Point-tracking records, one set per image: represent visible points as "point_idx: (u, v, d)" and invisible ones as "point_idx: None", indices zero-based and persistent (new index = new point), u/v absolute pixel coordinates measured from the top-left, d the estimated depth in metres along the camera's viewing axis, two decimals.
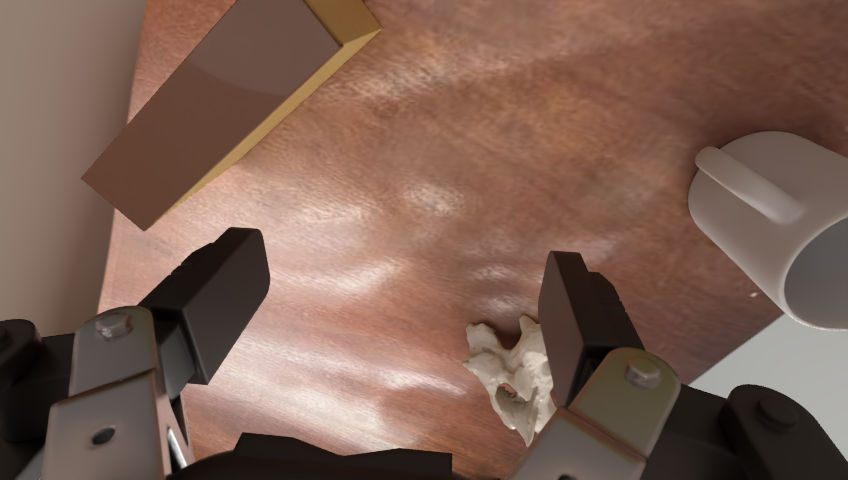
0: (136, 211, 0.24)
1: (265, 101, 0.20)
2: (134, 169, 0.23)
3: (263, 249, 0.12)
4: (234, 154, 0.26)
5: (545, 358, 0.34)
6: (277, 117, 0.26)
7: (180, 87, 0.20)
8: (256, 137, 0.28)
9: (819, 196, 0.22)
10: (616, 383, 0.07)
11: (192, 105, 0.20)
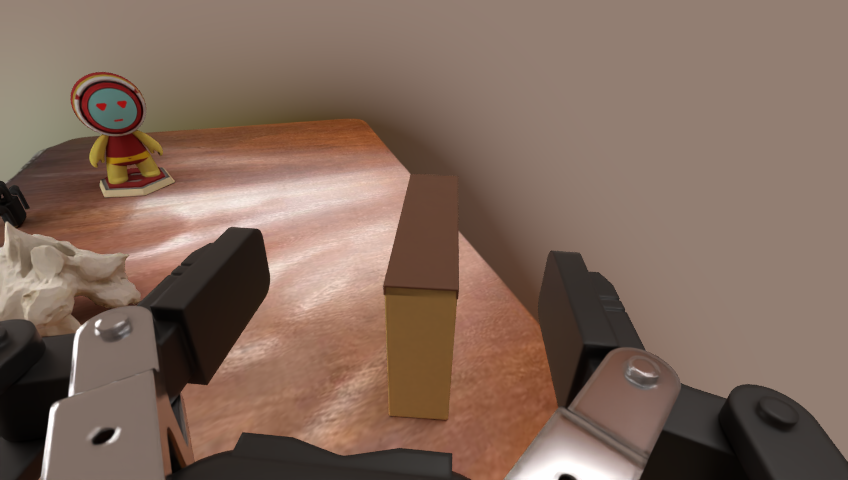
0: (421, 178, 0.36)
1: (401, 242, 0.27)
2: (438, 189, 0.34)
3: (263, 249, 0.12)
4: None
5: None
6: None
7: (449, 223, 0.29)
8: None
9: None
10: (616, 383, 0.07)
11: (436, 221, 0.29)
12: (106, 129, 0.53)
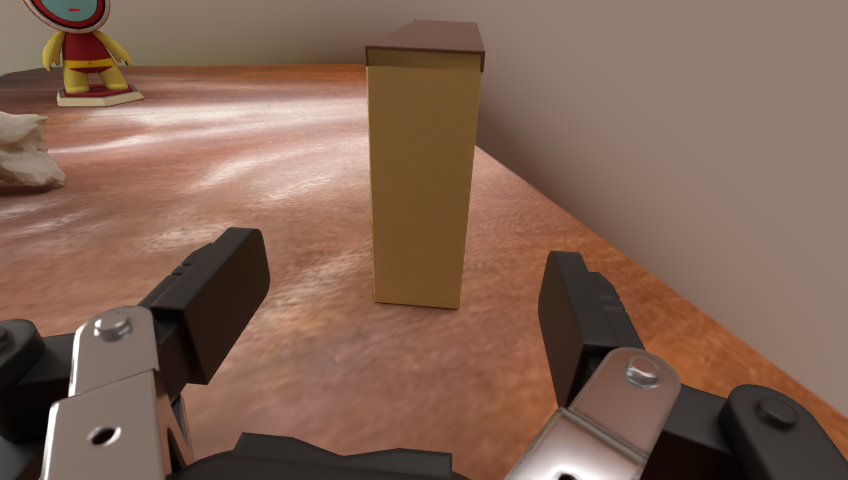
0: (429, 22, 0.27)
1: (398, 35, 0.18)
2: (451, 25, 0.25)
3: (263, 249, 0.12)
4: None
5: None
6: None
7: (467, 32, 0.20)
8: None
9: None
10: (616, 383, 0.07)
11: (449, 31, 0.21)
12: (59, 20, 0.45)
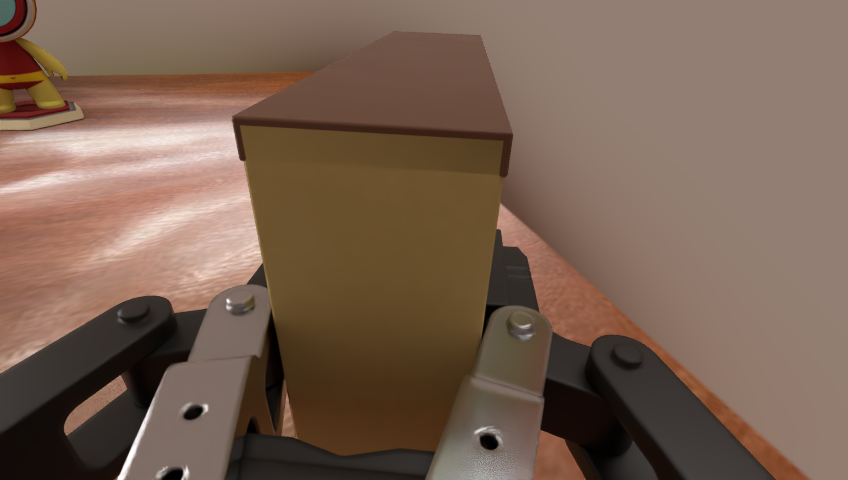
0: (413, 34, 0.19)
1: (343, 71, 0.10)
2: (443, 41, 0.17)
3: None
4: None
5: None
6: None
7: (467, 59, 0.12)
8: None
9: None
10: (503, 340, 0.08)
11: (438, 56, 0.13)
12: None
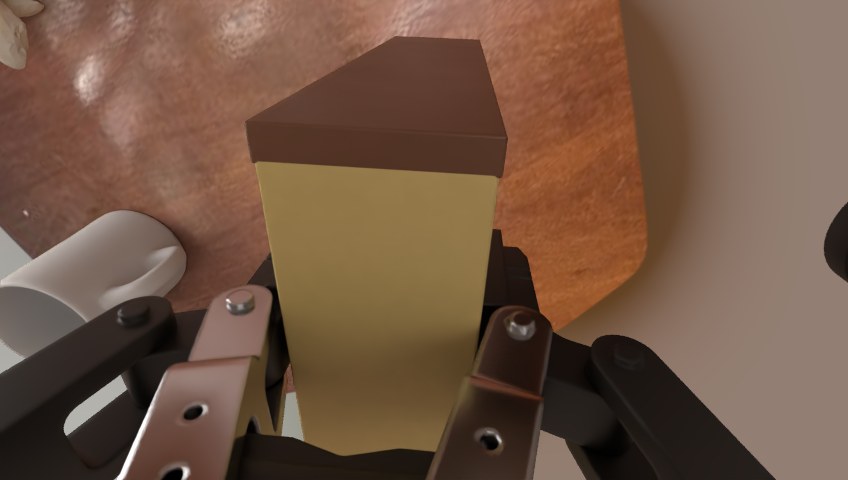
0: (414, 39, 0.20)
1: (346, 77, 0.11)
2: (444, 45, 0.18)
3: None
4: None
5: None
6: None
7: (466, 64, 0.13)
8: None
9: None
10: (503, 340, 0.08)
11: (438, 62, 0.13)
12: None
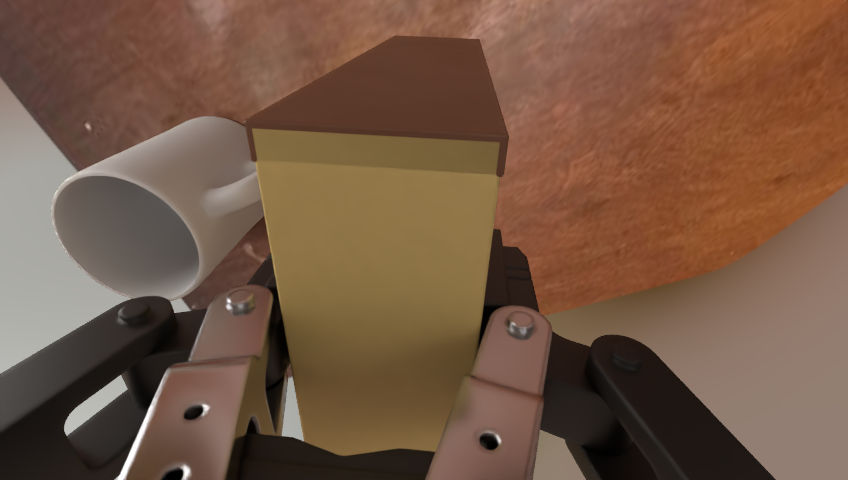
0: (413, 39, 0.20)
1: (347, 76, 0.10)
2: (443, 45, 0.18)
3: None
4: None
5: None
6: None
7: (467, 64, 0.13)
8: None
9: (219, 230, 0.24)
10: (503, 340, 0.08)
11: (438, 61, 0.13)
12: None
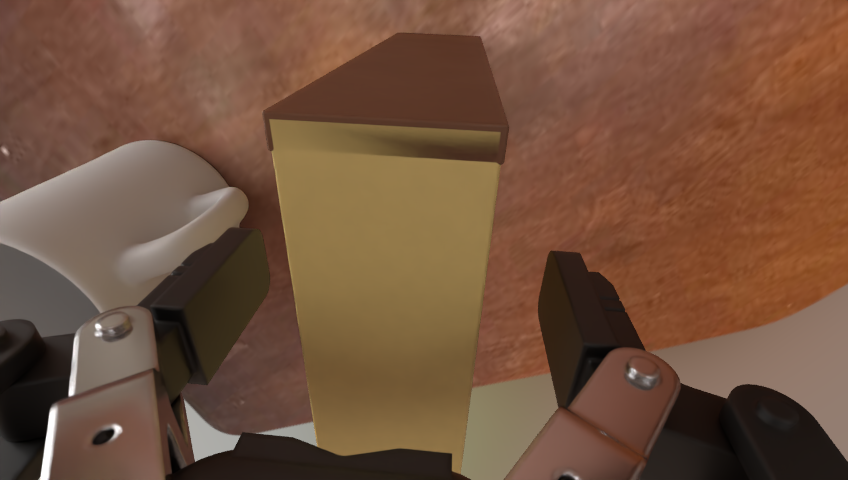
0: (416, 36, 0.20)
1: (354, 71, 0.11)
2: (446, 42, 0.18)
3: (263, 249, 0.12)
4: None
5: None
6: None
7: (468, 59, 0.13)
8: None
9: (143, 298, 0.19)
10: (616, 383, 0.07)
11: (440, 57, 0.13)
12: None
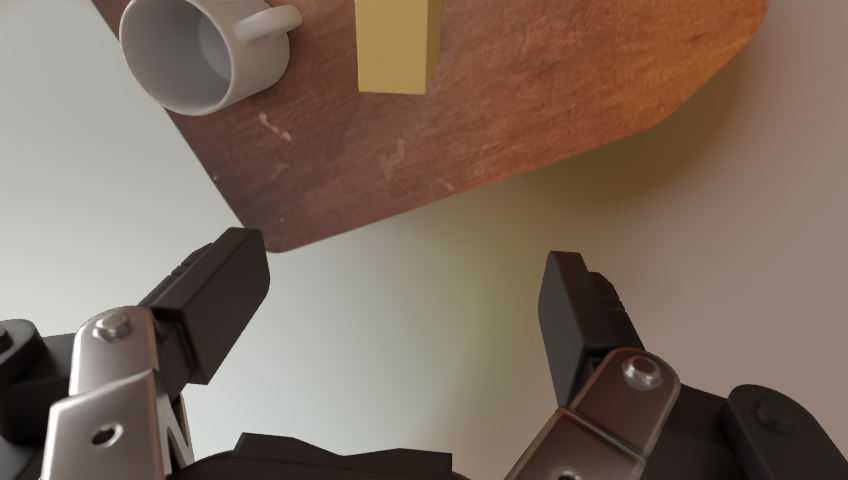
0: None
1: None
2: None
3: (263, 249, 0.12)
4: None
5: None
6: None
7: None
8: None
9: (245, 54, 0.31)
10: (616, 383, 0.07)
11: None
12: None
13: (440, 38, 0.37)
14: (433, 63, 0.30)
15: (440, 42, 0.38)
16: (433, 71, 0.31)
